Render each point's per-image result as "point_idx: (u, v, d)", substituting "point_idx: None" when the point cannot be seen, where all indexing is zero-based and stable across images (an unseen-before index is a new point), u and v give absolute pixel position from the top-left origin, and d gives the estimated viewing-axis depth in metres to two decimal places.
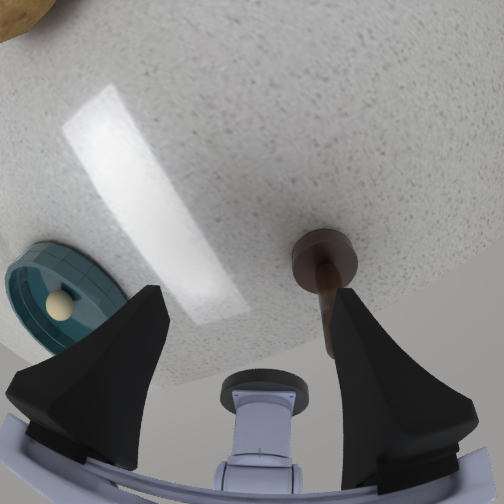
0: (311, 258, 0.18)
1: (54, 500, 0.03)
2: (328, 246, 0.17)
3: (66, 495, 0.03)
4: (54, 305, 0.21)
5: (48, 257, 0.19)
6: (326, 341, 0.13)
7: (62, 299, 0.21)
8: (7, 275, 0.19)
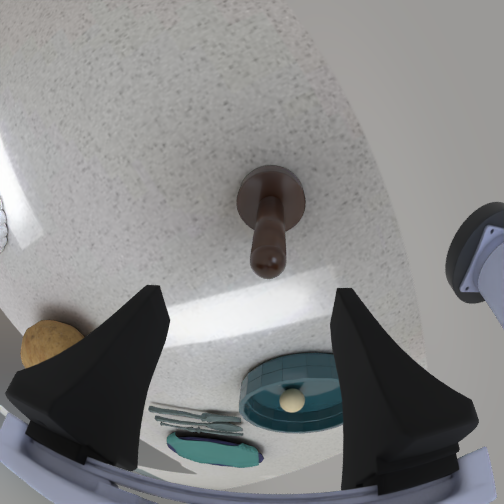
0: None
1: (54, 500, 0.03)
2: (243, 203, 0.18)
3: (66, 495, 0.03)
4: (284, 405, 0.29)
5: (243, 391, 0.29)
6: None
7: (285, 397, 0.29)
8: (252, 423, 0.31)
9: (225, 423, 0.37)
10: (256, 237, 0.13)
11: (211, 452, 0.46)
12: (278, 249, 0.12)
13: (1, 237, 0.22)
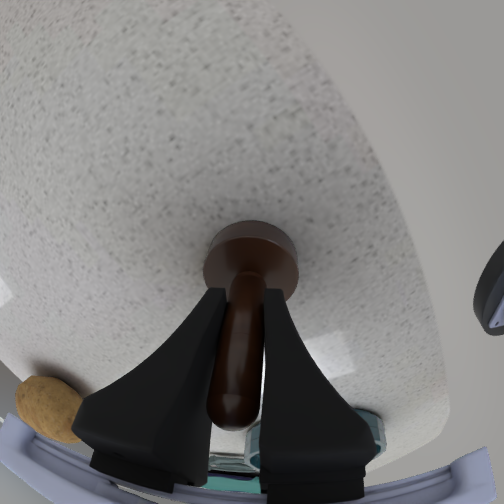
0: None
1: (54, 500, 0.03)
2: (213, 278, 0.13)
3: (66, 495, 0.03)
4: None
5: (247, 447, 0.24)
6: None
7: None
8: None
9: (235, 463, 0.32)
10: (216, 367, 0.08)
11: (225, 483, 0.41)
12: (244, 400, 0.07)
13: None
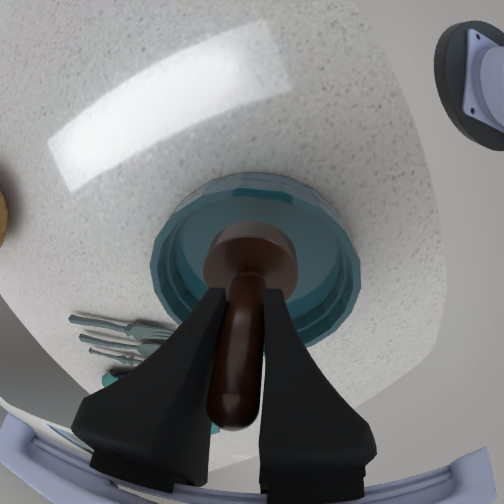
0: None
1: (54, 500, 0.03)
2: (213, 278, 0.13)
3: (66, 495, 0.03)
4: None
5: None
6: None
7: None
8: (179, 323, 0.23)
9: (158, 344, 0.29)
10: (215, 367, 0.08)
11: None
12: (243, 400, 0.07)
13: None
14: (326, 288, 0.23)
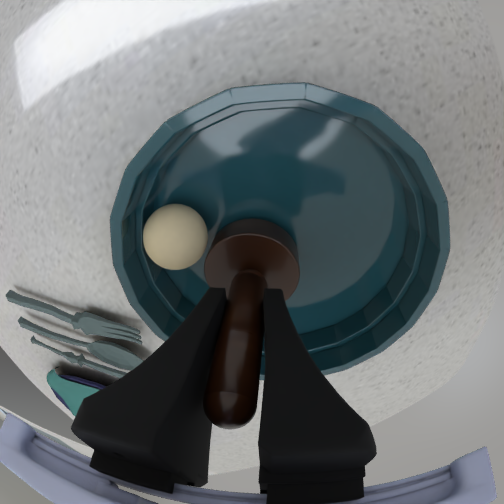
0: None
1: (54, 500, 0.03)
2: (213, 271, 0.13)
3: (66, 495, 0.03)
4: None
5: None
6: None
7: (194, 210, 0.13)
8: (148, 322, 0.14)
9: (116, 345, 0.20)
10: (215, 363, 0.08)
11: None
12: (244, 399, 0.07)
13: None
14: (373, 289, 0.15)
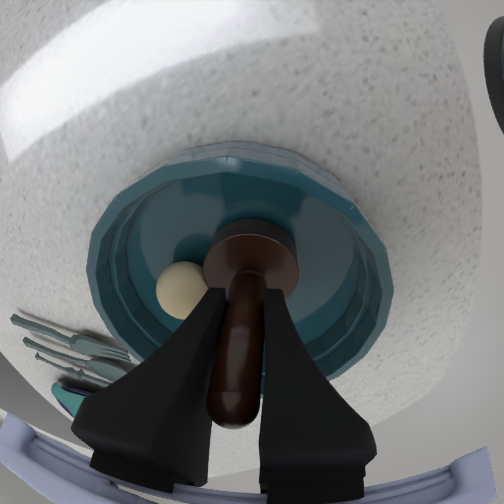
0: None
1: (54, 500, 0.03)
2: (212, 272, 0.13)
3: (66, 495, 0.03)
4: (158, 278, 0.14)
5: None
6: None
7: (172, 264, 0.14)
8: (128, 349, 0.15)
9: (109, 363, 0.21)
10: (218, 364, 0.08)
11: None
12: (247, 399, 0.07)
13: None
14: (331, 318, 0.17)
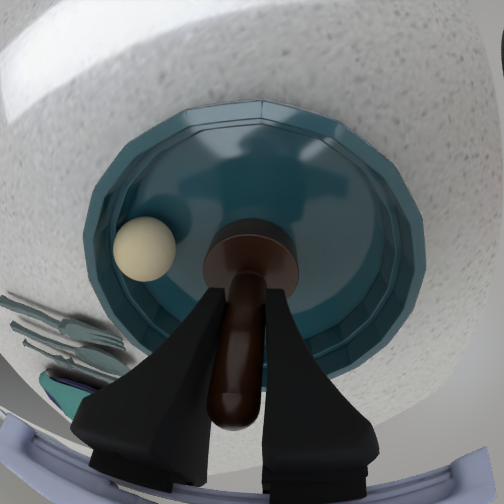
0: None
1: (54, 500, 0.03)
2: (212, 272, 0.13)
3: (66, 495, 0.03)
4: None
5: None
6: None
7: (165, 225, 0.13)
8: (125, 333, 0.14)
9: (101, 350, 0.20)
10: (218, 365, 0.08)
11: None
12: (248, 400, 0.07)
13: None
14: (349, 303, 0.15)
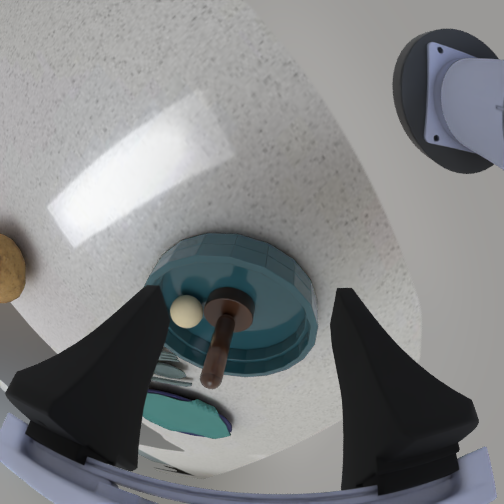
0: None
1: (54, 500, 0.03)
2: (209, 316, 0.25)
3: (66, 495, 0.03)
4: None
5: None
6: None
7: (186, 295, 0.25)
8: (173, 352, 0.27)
9: (164, 364, 0.33)
10: (204, 362, 0.20)
11: (174, 414, 0.43)
12: (213, 375, 0.19)
13: None
14: (296, 320, 0.26)
